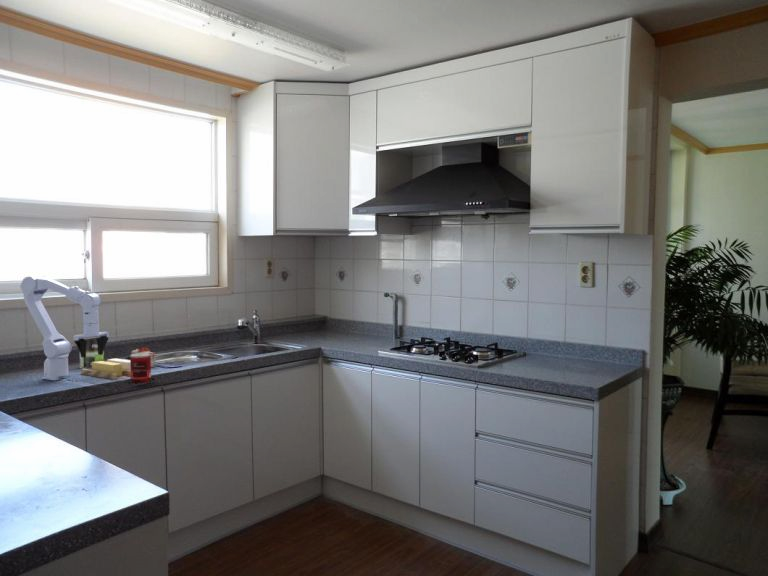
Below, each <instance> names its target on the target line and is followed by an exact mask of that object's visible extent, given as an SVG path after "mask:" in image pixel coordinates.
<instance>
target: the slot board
mask: <svg viewBox="0 0 768 576" xmlns="http://www.w3.org/2000/svg"><path fill="white" fill-rule="evenodd" d="M80 370H81V372H80V373H81V375H84V376H92V377H97V378H104V379H109V380H119V379H123V378H131V371H129V370H122V376H118V377H117V374H114V373H108V372H101V371H95V370H92V369H89V368H84V369H80Z"/></svg>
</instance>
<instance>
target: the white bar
mask: <svg viewBox="0 0 768 576" xmlns="http://www.w3.org/2000/svg"><path fill="white" fill-rule="evenodd" d="M106 362H112V363H120V364H122V370H129V371H131V367H130V359H123V358H110V359H109V358H108V359H107V360H106Z"/></svg>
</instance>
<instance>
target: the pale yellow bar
mask: <svg viewBox="0 0 768 576" xmlns="http://www.w3.org/2000/svg"><path fill="white" fill-rule="evenodd" d="M91 370H95V371H101V372H108V373H114V374H117V377H118V376H122V364H120V363H112V362H107V361H105V360H104V361H97V362H92V367H91Z"/></svg>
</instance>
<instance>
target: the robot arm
mask: <svg viewBox="0 0 768 576" xmlns="http://www.w3.org/2000/svg"><path fill="white" fill-rule="evenodd" d="M19 287H20V289H21V290H22V294H23V302H24V303H25V305H26V307H27V309H28V311H29V313H30V315H31V316H32V318H33V321H34V323H36V326H37V328H38V329H39V332H40V333H41V335H42V336H43V339H44V340H42V343H41V345H42V347H43V353H44V355H45V357H47V358H46V359H45V360H44V361H43V373H44V375H43V376H42V378H41V379H43V380H48V381H54V382H57V381H63V380H67V377H65V376H68V375H69V354H70V353H71V352H72V350H73V349H72V344H71V342H70V341H68V340H67V339H66V337H65V336H64V335H62V334H61V333H59V332H58V330H57V329H56V326H55V325H54V323H53V321H52V319H51V317H50V316H49V315H50V314H49V313H48V311H47V309H46V308H45V306H44V304H43V302H42V298H43V297H44V295H45V294H46V293H47V291H48V290H51V291H53V292H56V293H59V294H61V295H65V297H66V298H65V299H67V300H69V301H71V302H73V303H76V304H79V305H80V306H81V308H82V312H83V313H82V314H83V315H82V317H83V333H82V334H81V333H80V334H75V335H73V337H72V338H73V341H74V343H75V345H76V347H77V348H78V351H79V355H80V354H81V357H86V345H87V341H85V340H84V339H91V338H96V340H97V345H98V354H99V355H103V351H104V350H105V347H106V345H107V342H108V341H109V337H110V332H109V331H100V319H99V317H100V315H99V314H100V313H99V312H100V311H99V306H100V305H101V304H102V298H101V296H100V295H99V294H98V293H90V291H88V290H86V291H85V290H83V289H81V288H80V286H78V285H75V286H71V287H69V286H67V285H65V284H62V283H61V282H59V281H58V280H57V281H56V280H54V279H52V277H47V276H45V275H41V276H26V277H23V279H22V281H21V284H20V286H19ZM92 336H95V337H92ZM104 352H105V351H104Z"/></svg>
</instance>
